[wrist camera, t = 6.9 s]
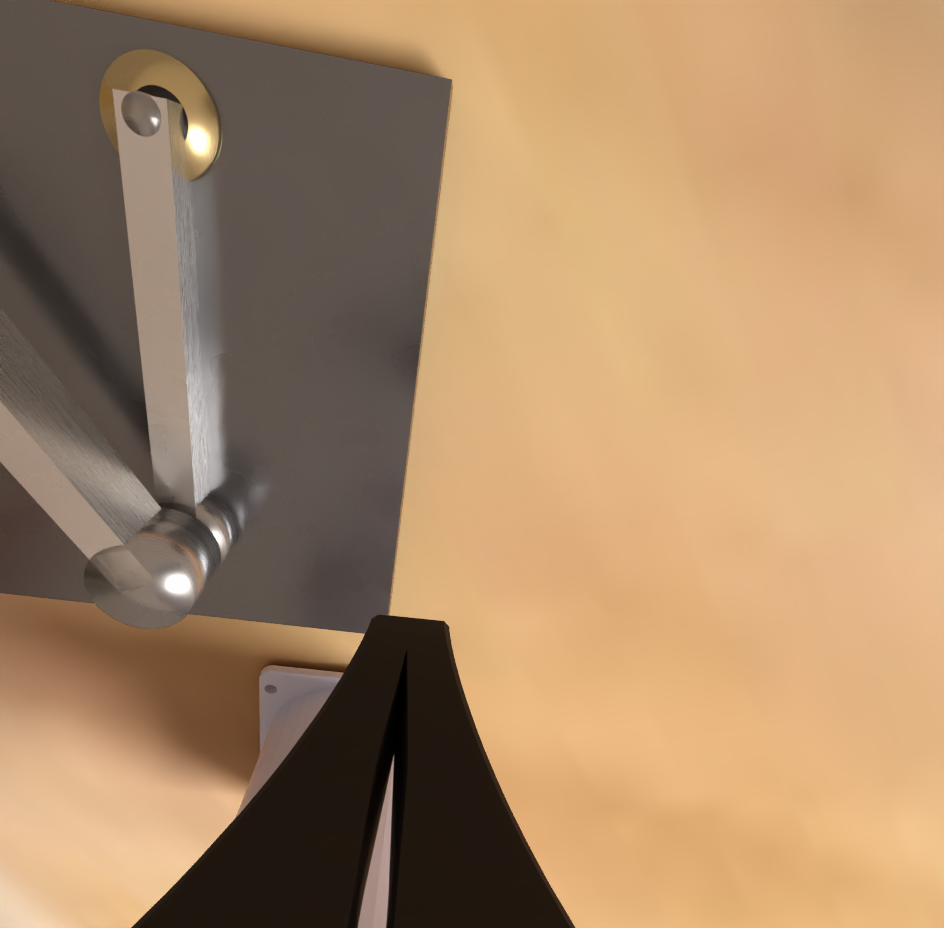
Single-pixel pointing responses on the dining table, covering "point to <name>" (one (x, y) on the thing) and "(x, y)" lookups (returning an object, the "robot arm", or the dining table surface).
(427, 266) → the plate
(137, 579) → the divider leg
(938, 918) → the dining table surface
